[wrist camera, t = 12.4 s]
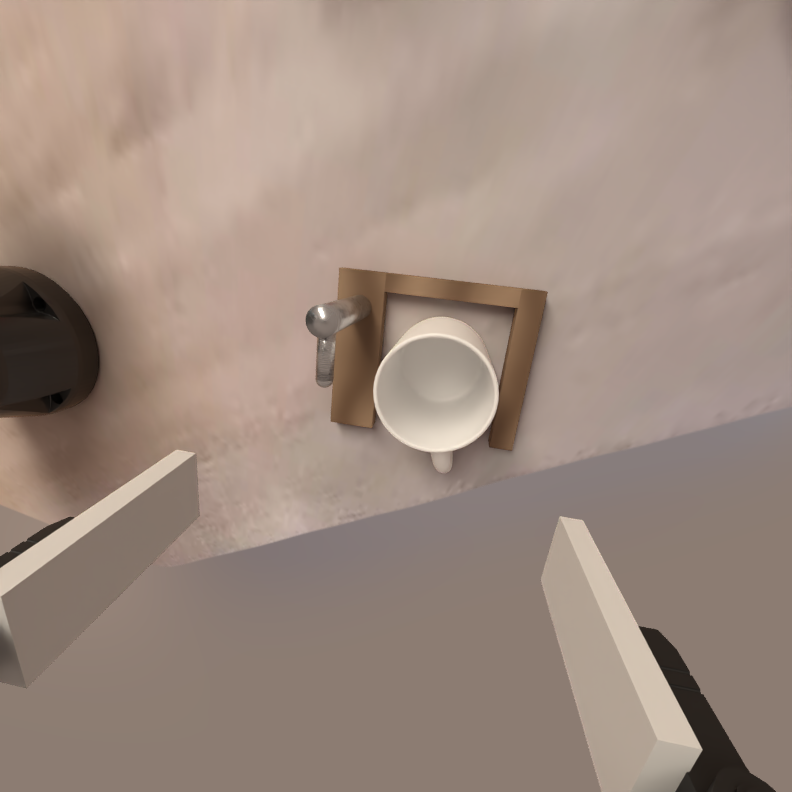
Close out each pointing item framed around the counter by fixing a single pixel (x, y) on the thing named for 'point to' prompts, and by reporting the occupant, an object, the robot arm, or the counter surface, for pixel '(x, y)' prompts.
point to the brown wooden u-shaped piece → (365, 337)
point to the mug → (437, 389)
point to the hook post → (333, 330)
